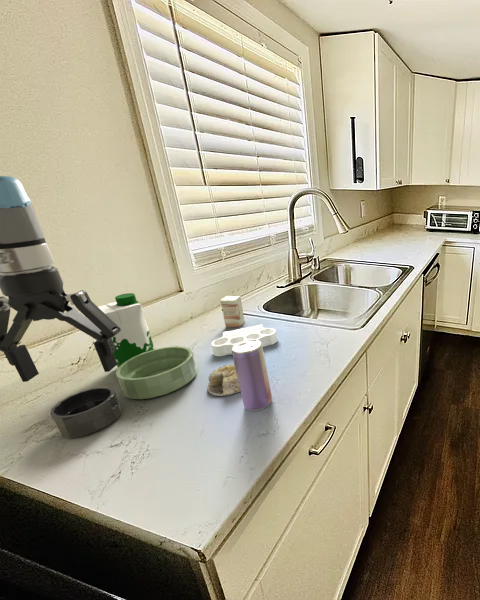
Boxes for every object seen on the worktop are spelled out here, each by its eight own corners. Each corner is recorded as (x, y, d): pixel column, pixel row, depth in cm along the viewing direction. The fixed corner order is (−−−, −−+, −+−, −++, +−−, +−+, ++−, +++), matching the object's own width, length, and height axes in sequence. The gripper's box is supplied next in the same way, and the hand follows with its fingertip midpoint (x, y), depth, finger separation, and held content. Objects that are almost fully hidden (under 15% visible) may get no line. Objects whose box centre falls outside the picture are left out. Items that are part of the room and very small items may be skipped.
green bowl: (106, 398, 76) (97, 377, 74) (160, 363, 91) (154, 344, 88) (165, 404, 74) (158, 382, 72) (210, 367, 89) (205, 347, 87)
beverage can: (259, 415, 71) (247, 354, 65) (238, 408, 73) (224, 349, 67) (277, 398, 76) (267, 341, 70) (257, 393, 78) (246, 337, 72)
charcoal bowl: (46, 437, 65) (35, 415, 63) (95, 405, 74) (87, 385, 72) (89, 442, 64) (79, 419, 62) (133, 409, 73) (126, 388, 71)
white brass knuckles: (272, 328, 111) (280, 347, 99) (213, 341, 103) (213, 363, 91) (271, 319, 109) (279, 337, 97) (210, 331, 101) (210, 352, 89)
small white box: (225, 327, 112) (219, 300, 109) (231, 322, 116) (225, 295, 113) (240, 327, 112) (234, 300, 109) (245, 321, 116) (240, 295, 113)
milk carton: (163, 363, 91) (142, 296, 84) (123, 378, 84) (97, 307, 77) (150, 354, 96) (129, 290, 88) (112, 368, 89) (86, 300, 82)
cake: (234, 371, 88) (231, 353, 86) (260, 381, 83) (258, 362, 82) (198, 389, 79) (194, 369, 77) (225, 401, 75) (223, 380, 73)
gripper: (-89, 281, 51) (-24, 393, 59) (94, 269, 56) (132, 374, 64) (-40, 269, 58) (12, 371, 66) (119, 259, 63) (151, 355, 70)
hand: (72, 373), depth 65 cm, fingers open, 13 cm apart
